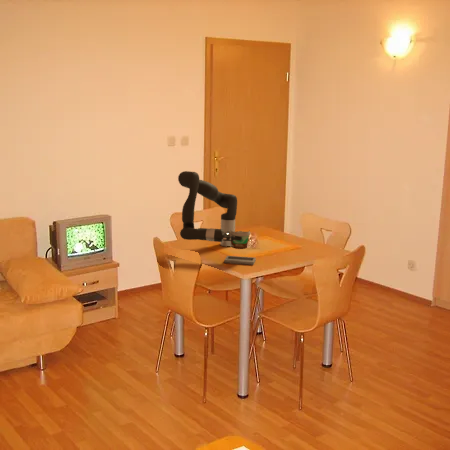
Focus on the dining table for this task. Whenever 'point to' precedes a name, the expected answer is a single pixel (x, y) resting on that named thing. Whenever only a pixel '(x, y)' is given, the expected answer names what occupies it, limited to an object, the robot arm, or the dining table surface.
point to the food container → (243, 242)
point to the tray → (240, 260)
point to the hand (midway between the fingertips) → (242, 237)
